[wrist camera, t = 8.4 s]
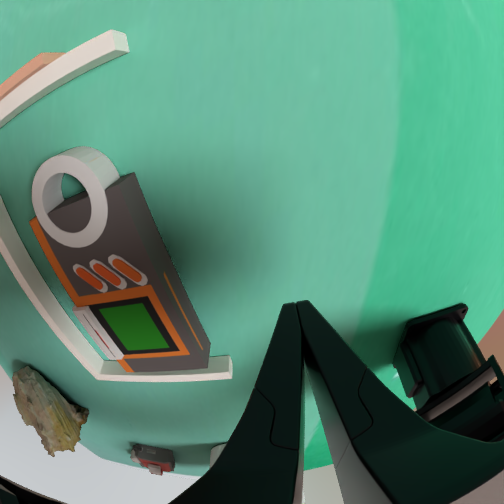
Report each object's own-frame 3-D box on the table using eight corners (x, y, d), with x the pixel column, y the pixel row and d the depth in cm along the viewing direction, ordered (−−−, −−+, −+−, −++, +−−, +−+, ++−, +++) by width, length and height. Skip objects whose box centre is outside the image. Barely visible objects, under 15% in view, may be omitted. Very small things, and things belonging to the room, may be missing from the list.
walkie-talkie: (123, 437, 36) (139, 459, 47) (119, 458, 32) (137, 475, 43) (173, 447, 37) (176, 466, 48) (171, 469, 33) (175, 482, 44)
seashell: (66, 360, 24) (32, 433, 15) (108, 423, 31) (92, 479, 22) (7, 342, 24) (-27, 397, 15) (52, 405, 30) (32, 453, 22)
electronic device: (96, 133, 9) (209, 375, 17) (125, 123, 11) (212, 342, 19) (4, 187, 10) (123, 379, 17) (35, 169, 12) (133, 349, 20)
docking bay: (123, 23, 8) (104, 16, 6) (232, 362, 20) (232, 384, 19) (-30, 128, 9) (-50, 138, 7) (101, 366, 21) (95, 384, 20)
